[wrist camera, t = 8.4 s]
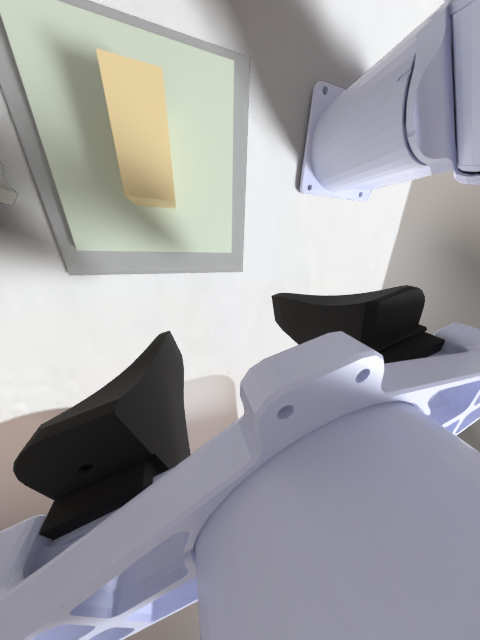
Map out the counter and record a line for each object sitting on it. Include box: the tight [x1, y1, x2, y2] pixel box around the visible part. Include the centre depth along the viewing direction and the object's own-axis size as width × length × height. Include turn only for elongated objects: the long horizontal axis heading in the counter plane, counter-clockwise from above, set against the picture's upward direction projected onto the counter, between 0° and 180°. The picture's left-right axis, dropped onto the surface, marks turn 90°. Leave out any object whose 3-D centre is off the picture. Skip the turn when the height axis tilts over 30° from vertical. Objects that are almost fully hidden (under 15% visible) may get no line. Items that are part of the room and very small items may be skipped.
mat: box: [0, 0, 250, 275], centre depth 15 cm, size 16×16×1 cm
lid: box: [0, 0, 234, 253], centre depth 12 cm, size 13×13×5 cm
